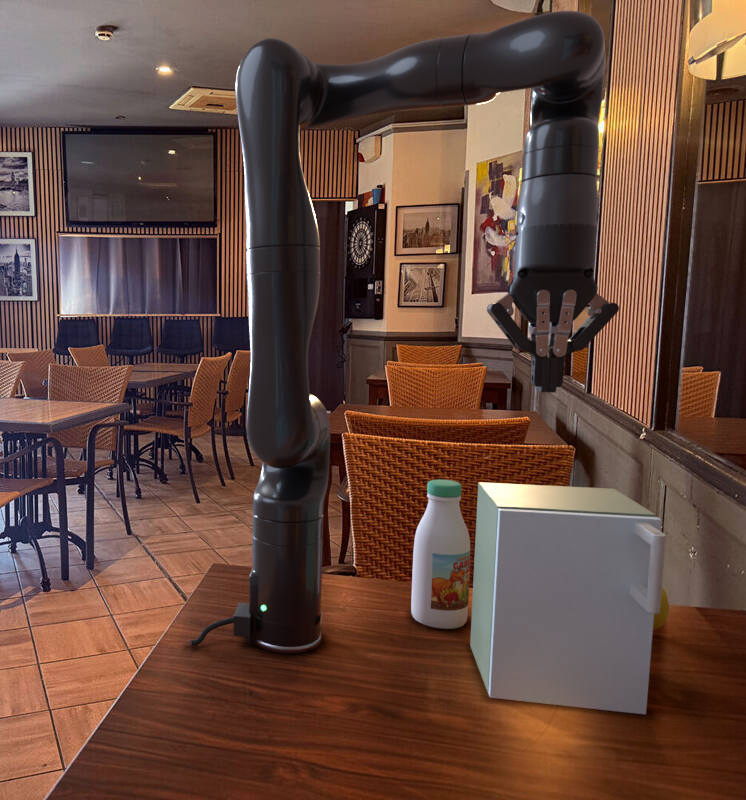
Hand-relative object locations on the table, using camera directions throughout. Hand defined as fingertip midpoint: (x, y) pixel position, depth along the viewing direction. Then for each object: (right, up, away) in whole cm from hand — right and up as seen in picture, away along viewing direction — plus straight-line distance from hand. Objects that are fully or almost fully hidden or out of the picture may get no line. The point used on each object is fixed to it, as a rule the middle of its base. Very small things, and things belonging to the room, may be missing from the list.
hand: (545, 391), depth 74 cm
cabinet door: (+3, -35, +1) cm, 35 cm away
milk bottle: (-3, -33, +26) cm, 42 cm away
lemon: (+24, -33, +21) cm, 46 cm away
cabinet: (+5, -34, +10) cm, 36 cm away
